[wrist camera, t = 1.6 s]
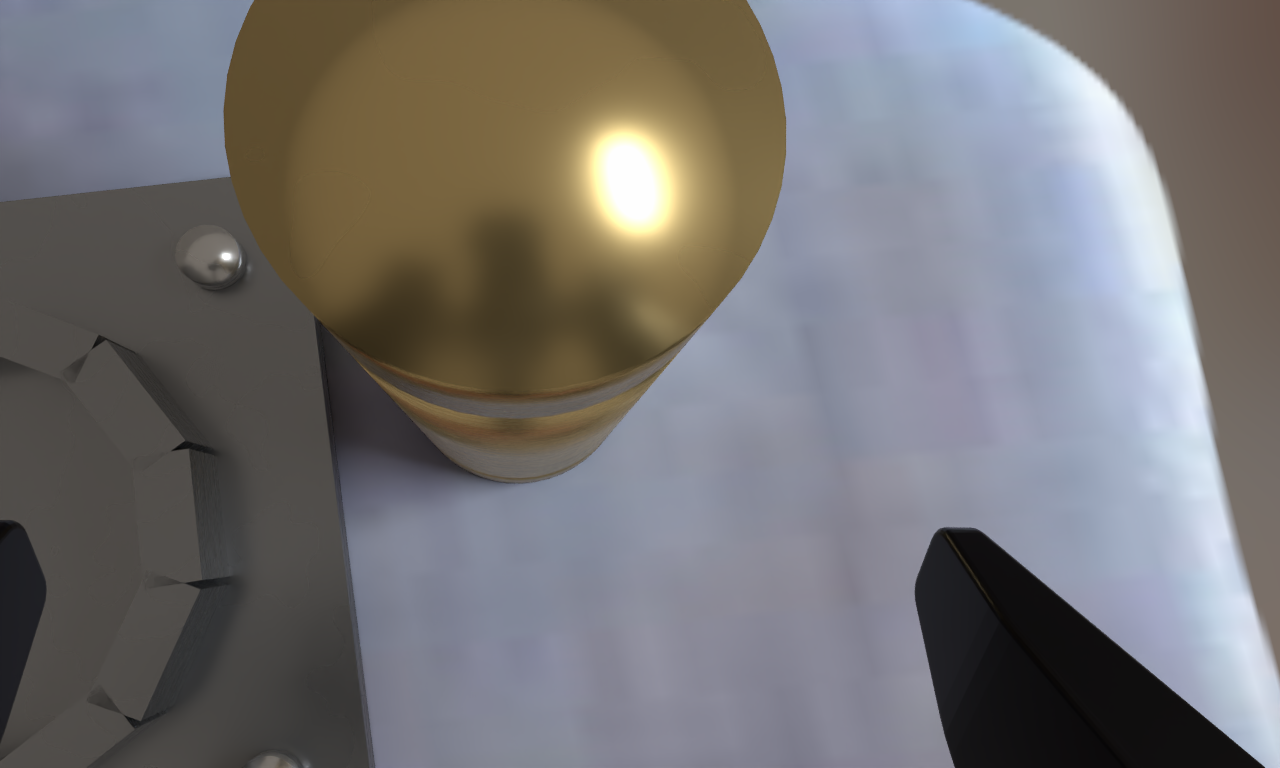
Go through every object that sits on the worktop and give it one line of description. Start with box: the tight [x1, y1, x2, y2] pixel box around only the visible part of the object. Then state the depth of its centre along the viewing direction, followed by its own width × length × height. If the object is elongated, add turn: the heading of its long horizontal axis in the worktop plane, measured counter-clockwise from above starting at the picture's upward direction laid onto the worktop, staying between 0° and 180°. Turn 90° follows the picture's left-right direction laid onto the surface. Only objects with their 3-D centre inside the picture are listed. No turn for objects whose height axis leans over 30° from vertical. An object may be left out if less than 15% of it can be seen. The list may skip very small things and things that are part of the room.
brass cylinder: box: [224, 0, 786, 483], centre depth 14 cm, size 5×5×13 cm
